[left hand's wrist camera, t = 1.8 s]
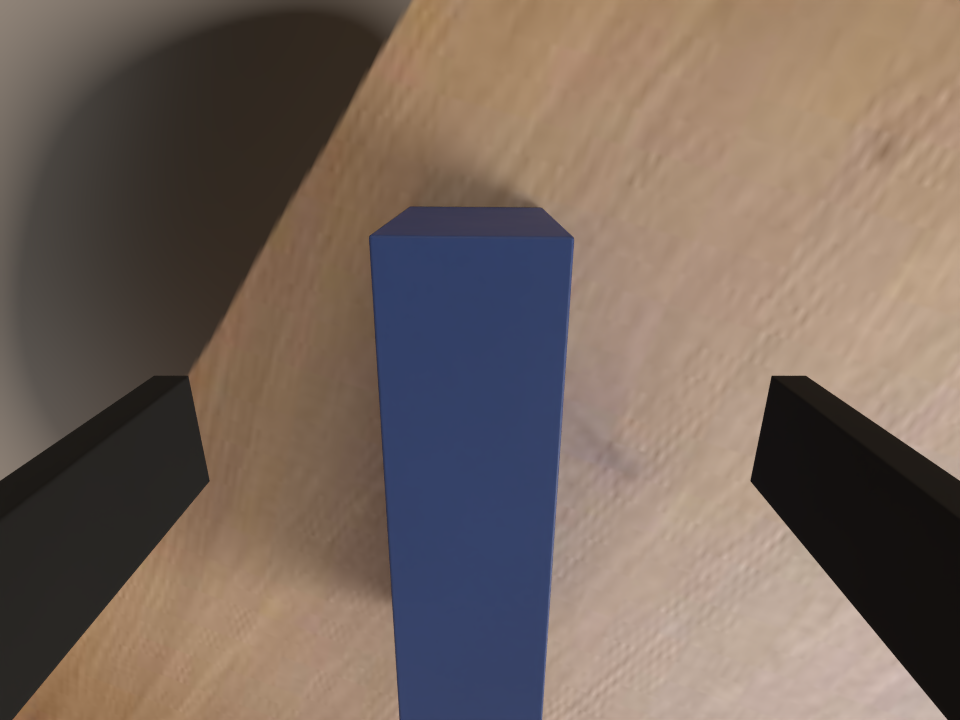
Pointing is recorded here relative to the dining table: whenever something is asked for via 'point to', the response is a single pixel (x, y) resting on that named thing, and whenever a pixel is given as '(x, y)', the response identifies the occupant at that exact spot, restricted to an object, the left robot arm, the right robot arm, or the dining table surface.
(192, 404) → the left robot arm
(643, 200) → the dining table surface
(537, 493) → the box
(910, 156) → the dining table surface
